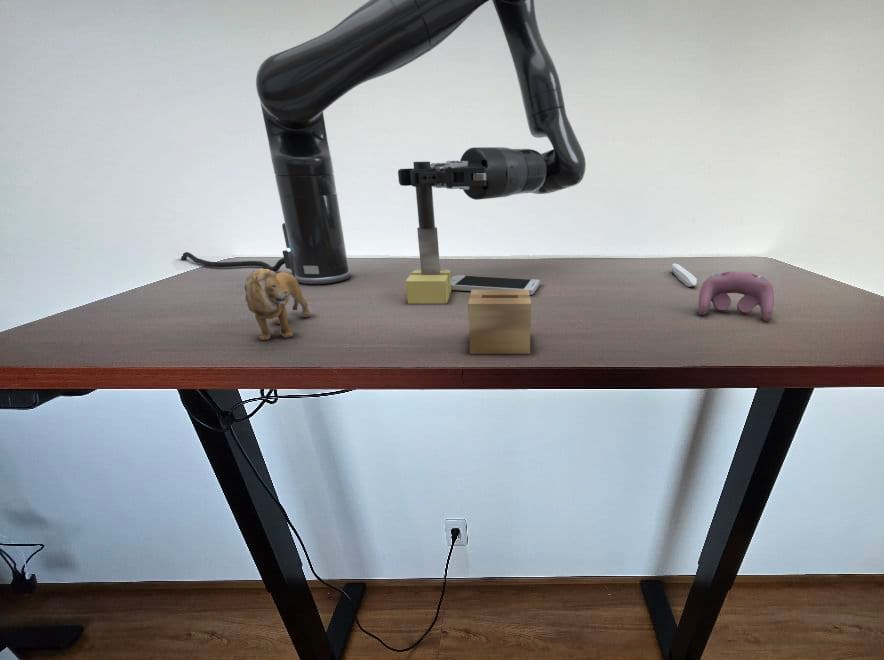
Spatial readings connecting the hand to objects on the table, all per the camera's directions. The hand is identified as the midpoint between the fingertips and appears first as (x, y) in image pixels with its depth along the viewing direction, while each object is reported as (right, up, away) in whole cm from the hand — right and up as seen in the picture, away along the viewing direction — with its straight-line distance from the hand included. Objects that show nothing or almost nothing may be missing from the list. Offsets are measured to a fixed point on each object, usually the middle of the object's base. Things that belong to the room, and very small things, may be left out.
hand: (406, 177), depth 68 cm
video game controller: (+47, -19, +2) cm, 51 cm away
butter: (+2, -14, +10) cm, 18 cm away
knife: (+2, -12, +9) cm, 15 cm away
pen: (+47, -9, +20) cm, 52 cm away
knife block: (+14, -25, -9) cm, 30 cm away
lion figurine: (-15, -23, -5) cm, 27 cm away
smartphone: (+12, -12, +15) cm, 22 cm away
